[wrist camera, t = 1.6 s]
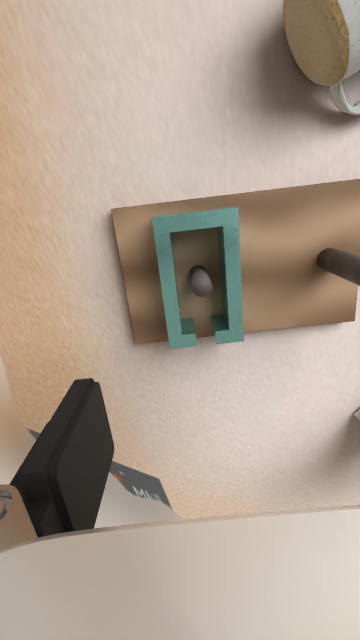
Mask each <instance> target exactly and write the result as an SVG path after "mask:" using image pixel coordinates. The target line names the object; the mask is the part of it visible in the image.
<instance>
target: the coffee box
mask: <svg viewBox="0 0 360 640" xmlns="http://www.w3.org/2000/svg"><path fill="white" fill-rule="evenodd" d="M354 416H355V417H356V418H357V419H358V420H359V421H360V409H358V410H357V411H356V412H355V413H354Z"/></svg>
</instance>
